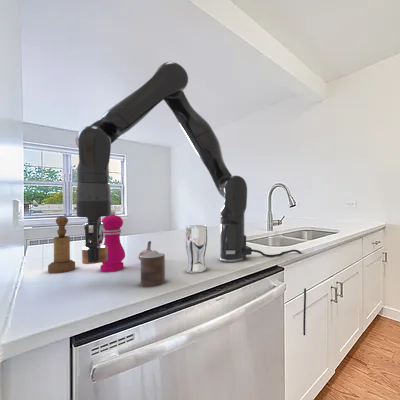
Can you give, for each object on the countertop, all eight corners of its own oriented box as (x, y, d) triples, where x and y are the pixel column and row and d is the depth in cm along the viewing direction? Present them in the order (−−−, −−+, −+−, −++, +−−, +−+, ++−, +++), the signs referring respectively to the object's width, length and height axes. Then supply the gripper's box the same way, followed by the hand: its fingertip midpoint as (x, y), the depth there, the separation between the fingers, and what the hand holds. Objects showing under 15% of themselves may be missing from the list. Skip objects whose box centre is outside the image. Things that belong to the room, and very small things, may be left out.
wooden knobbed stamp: (45, 274, 80) (45, 217, 80) (50, 269, 85) (50, 216, 85) (74, 271, 84) (73, 216, 84) (76, 266, 89) (76, 215, 89)
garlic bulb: (148, 259, 100) (148, 239, 100) (165, 260, 98) (165, 239, 98) (132, 264, 92) (132, 242, 92) (150, 265, 91) (150, 243, 91)
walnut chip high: (163, 265, 77) (163, 252, 77) (165, 270, 72) (165, 256, 72) (140, 268, 74) (140, 254, 73) (140, 273, 68) (140, 258, 68)
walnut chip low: (163, 278, 77) (163, 265, 77) (165, 284, 72) (165, 270, 72) (140, 281, 74) (140, 268, 74) (140, 288, 69) (140, 273, 68)
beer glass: (181, 270, 86) (181, 225, 85) (201, 266, 90) (202, 224, 90) (190, 274, 81) (190, 227, 80) (210, 270, 86) (211, 226, 85)
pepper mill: (111, 273, 82) (111, 211, 82) (93, 271, 83) (92, 210, 83) (130, 267, 89) (130, 210, 89) (113, 265, 90) (113, 209, 90)
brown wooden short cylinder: (108, 257, 75) (108, 244, 75) (106, 262, 70) (106, 247, 70) (84, 260, 72) (83, 246, 72) (80, 265, 67) (80, 250, 67)
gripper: (108, 199, 67) (109, 263, 67) (112, 199, 79) (113, 253, 79) (70, 200, 63) (71, 267, 63) (81, 199, 75) (82, 256, 75)
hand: (95, 259), depth 71 cm, fingers closed on brown wooden short cylinder, 5 cm apart
